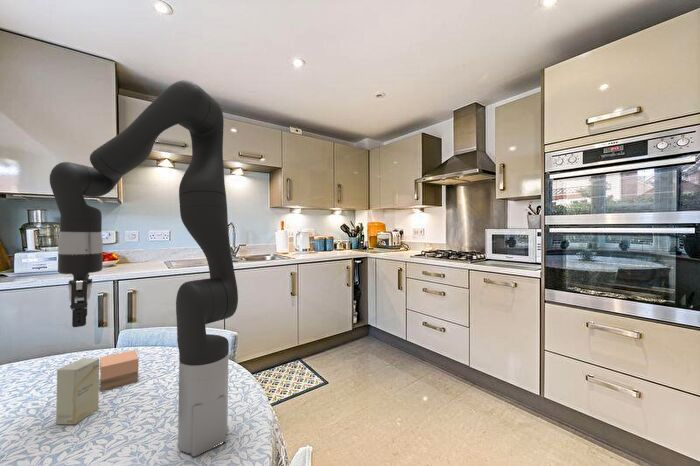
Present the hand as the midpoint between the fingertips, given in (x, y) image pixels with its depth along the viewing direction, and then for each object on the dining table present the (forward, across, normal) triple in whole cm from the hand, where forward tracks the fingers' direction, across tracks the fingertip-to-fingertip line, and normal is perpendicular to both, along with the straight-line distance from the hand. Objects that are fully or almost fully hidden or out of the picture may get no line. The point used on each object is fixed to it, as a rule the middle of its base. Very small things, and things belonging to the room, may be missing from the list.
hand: (80, 321), depth 66 cm
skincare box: (+22, 0, 0) cm, 22 cm away
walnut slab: (+22, +14, -8) cm, 27 cm away
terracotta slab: (+19, +14, -8) cm, 24 cm away
